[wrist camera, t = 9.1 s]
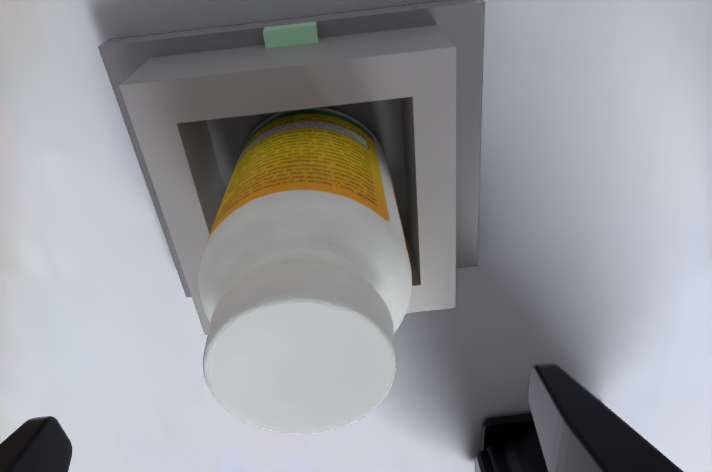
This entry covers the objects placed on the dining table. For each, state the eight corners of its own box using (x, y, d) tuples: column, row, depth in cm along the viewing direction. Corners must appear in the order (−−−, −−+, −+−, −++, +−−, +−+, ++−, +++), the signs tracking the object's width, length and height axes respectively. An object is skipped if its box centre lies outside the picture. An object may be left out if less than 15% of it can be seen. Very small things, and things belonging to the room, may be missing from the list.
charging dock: (477, -3, 17) (514, 20, 14) (471, 252, 22) (497, 314, 19) (109, 39, 17) (56, 73, 14) (191, 282, 22) (167, 349, 19)
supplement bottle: (411, 198, 20) (470, 406, 12) (289, 257, 21) (265, 483, 13) (342, 70, 17) (354, 223, 9) (206, 146, 18) (109, 342, 10)
